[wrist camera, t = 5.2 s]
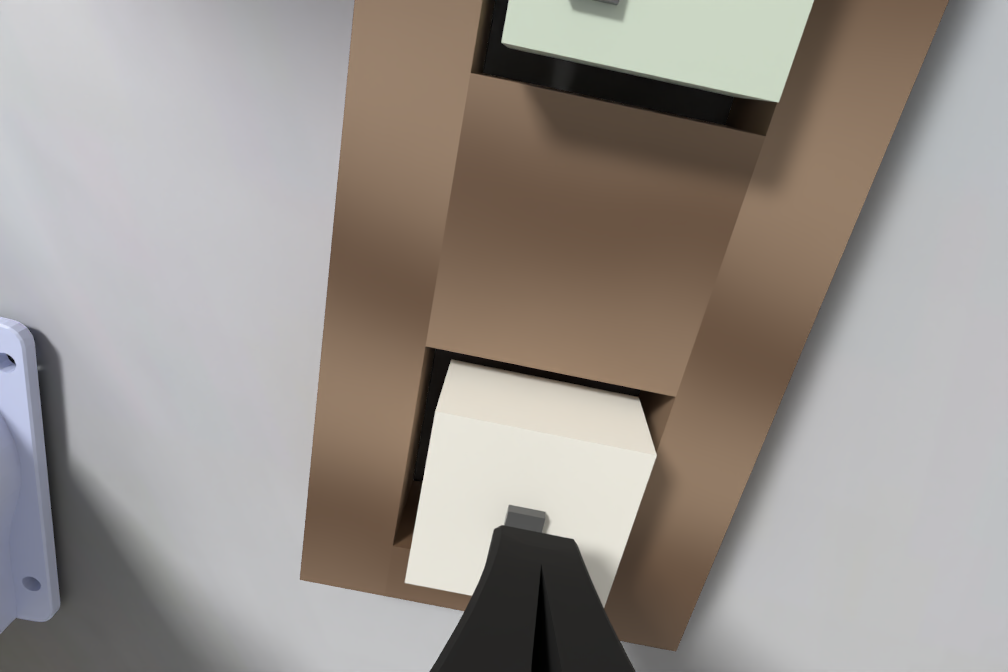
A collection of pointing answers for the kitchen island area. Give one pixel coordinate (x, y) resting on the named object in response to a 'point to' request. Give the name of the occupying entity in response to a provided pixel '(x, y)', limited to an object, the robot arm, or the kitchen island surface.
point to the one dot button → (527, 473)
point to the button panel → (584, 271)
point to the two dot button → (669, 39)
